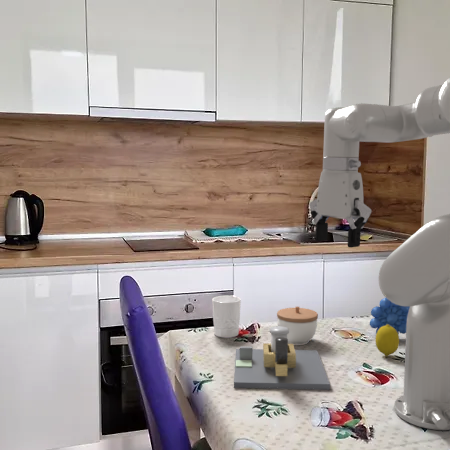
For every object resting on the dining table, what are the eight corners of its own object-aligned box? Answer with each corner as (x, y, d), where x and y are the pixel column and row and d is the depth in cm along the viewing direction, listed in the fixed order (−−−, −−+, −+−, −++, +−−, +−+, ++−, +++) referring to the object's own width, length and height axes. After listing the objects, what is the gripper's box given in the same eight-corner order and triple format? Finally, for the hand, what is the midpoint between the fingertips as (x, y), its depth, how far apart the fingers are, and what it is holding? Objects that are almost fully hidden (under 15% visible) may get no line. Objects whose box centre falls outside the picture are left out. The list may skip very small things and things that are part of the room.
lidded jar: (284, 349, 131) (284, 313, 130) (271, 336, 141) (272, 302, 140) (323, 346, 133) (324, 311, 132) (308, 333, 143) (309, 300, 142)
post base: (329, 389, 107) (330, 345, 106) (233, 387, 108) (234, 343, 107) (316, 354, 127) (317, 317, 126) (236, 353, 128) (236, 315, 127)
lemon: (380, 350, 130) (381, 319, 129) (401, 355, 127) (403, 324, 126) (371, 356, 126) (372, 325, 125) (393, 362, 122) (394, 329, 122)
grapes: (413, 336, 141) (415, 293, 140) (414, 344, 135) (416, 299, 134) (369, 331, 145) (371, 290, 144) (368, 339, 139) (370, 295, 137)
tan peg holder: (298, 378, 108) (298, 341, 107) (264, 378, 108) (265, 341, 107) (292, 356, 121) (293, 323, 120) (263, 355, 121) (263, 322, 120)
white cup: (243, 330, 146) (243, 296, 145) (237, 339, 138) (237, 303, 137) (216, 328, 148) (216, 294, 147) (209, 337, 140) (209, 301, 139)
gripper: (384, 166, 107) (379, 248, 109) (324, 165, 121) (321, 236, 123) (359, 166, 103) (355, 251, 105) (300, 165, 117) (298, 239, 119)
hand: (336, 243), depth 114 cm, fingers open, 9 cm apart
